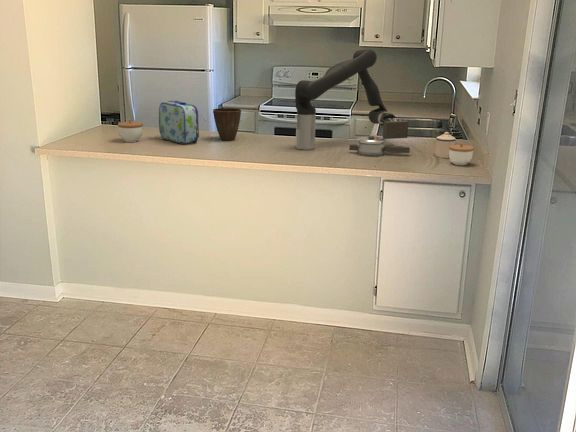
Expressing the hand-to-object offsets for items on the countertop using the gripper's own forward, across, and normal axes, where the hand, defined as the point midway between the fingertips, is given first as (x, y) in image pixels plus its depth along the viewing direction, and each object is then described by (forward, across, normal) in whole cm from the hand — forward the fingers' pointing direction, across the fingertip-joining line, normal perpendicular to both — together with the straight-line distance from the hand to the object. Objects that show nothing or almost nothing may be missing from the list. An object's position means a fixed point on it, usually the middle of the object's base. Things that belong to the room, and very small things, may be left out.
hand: (396, 125), depth 289 cm
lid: (+3, -8, +7) cm, 11 cm away
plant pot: (-35, -82, +13) cm, 90 cm away
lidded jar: (+29, +22, +13) cm, 38 cm away
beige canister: (+12, +21, +13) cm, 27 cm away
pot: (+5, -10, +13) cm, 17 cm away
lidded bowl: (-33, -132, +13) cm, 137 cm away
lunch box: (-32, -107, +13) cm, 112 cm away
